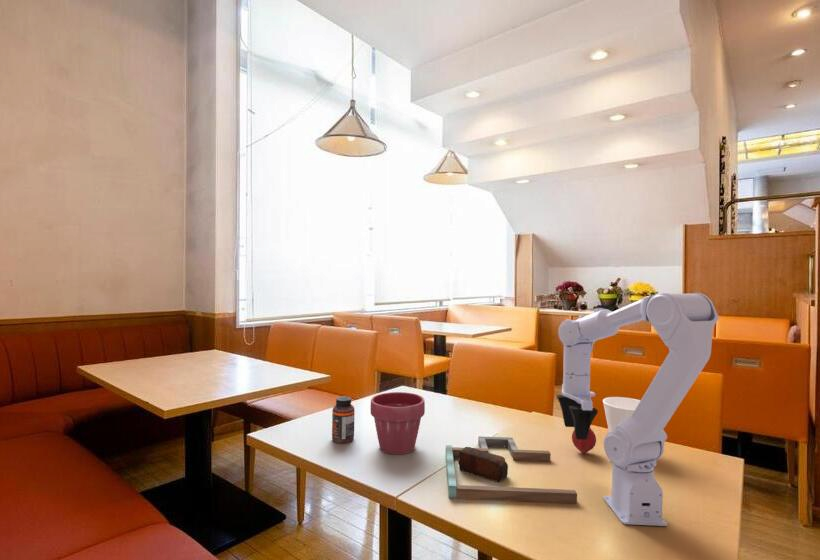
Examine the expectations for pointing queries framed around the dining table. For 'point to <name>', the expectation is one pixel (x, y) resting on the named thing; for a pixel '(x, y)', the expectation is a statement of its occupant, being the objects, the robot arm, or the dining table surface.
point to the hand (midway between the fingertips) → (575, 432)
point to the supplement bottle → (343, 420)
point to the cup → (618, 410)
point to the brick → (483, 464)
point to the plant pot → (397, 420)
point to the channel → (504, 492)
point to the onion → (584, 442)
